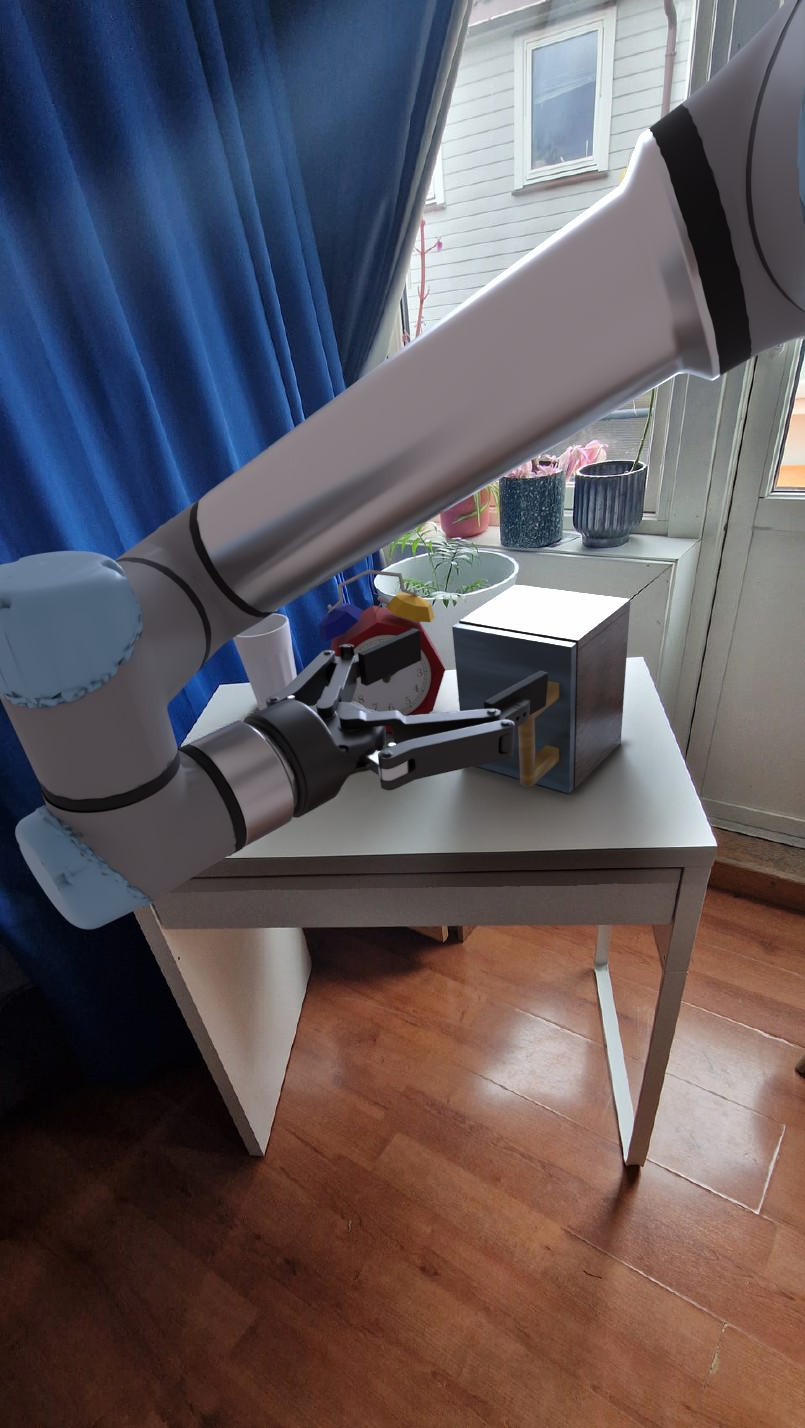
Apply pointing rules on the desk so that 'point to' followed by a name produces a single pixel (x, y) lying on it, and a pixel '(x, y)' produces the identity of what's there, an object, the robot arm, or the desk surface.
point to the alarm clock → (375, 625)
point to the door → (502, 663)
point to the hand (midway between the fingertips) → (476, 664)
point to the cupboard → (597, 656)
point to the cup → (267, 656)
